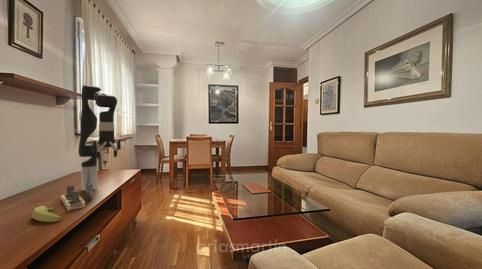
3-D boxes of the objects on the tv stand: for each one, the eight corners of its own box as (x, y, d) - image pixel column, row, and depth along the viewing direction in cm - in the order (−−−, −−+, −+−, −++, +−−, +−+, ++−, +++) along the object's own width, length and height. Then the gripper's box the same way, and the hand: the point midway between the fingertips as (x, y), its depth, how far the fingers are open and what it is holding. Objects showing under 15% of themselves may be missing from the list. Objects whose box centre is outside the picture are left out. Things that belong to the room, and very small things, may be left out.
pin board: (61, 200, 136) (61, 185, 136) (77, 197, 142) (77, 183, 141) (67, 210, 120) (67, 194, 120) (85, 206, 126) (84, 191, 125)
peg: (85, 199, 138) (85, 183, 137) (92, 198, 140) (91, 182, 140) (86, 201, 135) (86, 185, 135) (93, 199, 138) (93, 184, 137)
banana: (26, 210, 102) (41, 202, 119) (22, 223, 100) (38, 212, 118) (62, 213, 107) (71, 205, 125) (58, 225, 106) (68, 215, 124)
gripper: (117, 129, 134) (117, 155, 135) (90, 129, 123) (90, 158, 124) (122, 130, 129) (122, 157, 130) (94, 130, 118) (94, 159, 119)
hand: (106, 157), depth 127 cm, fingers open, 8 cm apart
